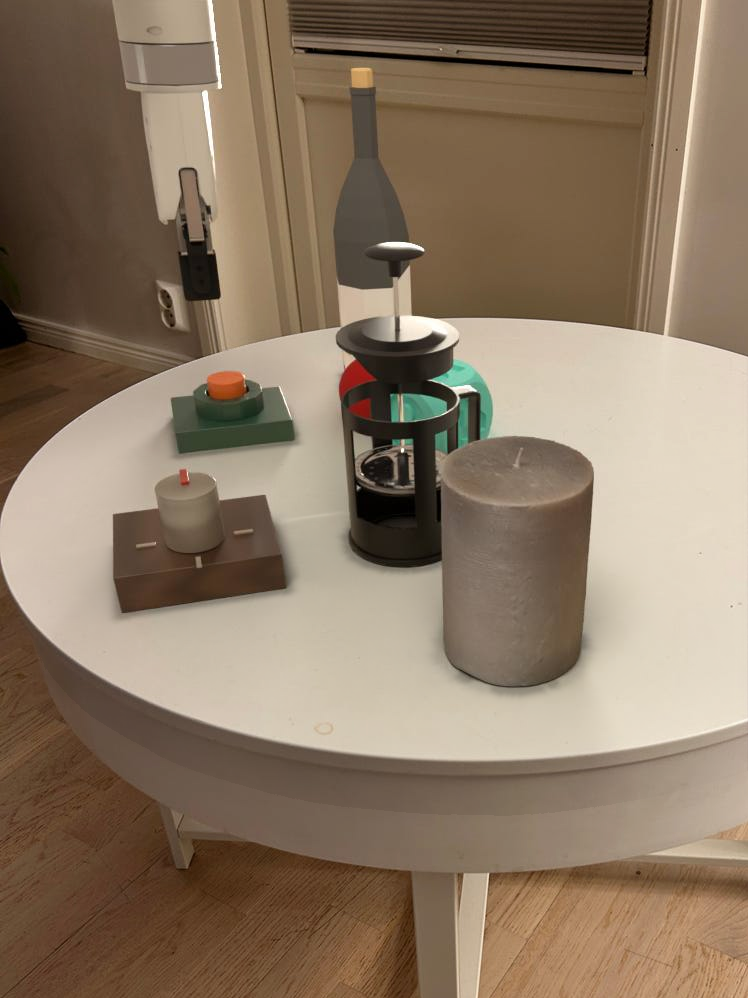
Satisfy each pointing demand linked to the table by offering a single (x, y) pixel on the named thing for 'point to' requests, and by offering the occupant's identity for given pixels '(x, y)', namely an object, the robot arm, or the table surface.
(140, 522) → the dial panel
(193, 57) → the robot arm
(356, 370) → the christmas ornament
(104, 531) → the table surface
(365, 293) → the wine bottle
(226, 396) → the button
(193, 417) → the button box
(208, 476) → the dial knob
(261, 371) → the table surface
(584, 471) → the pillar candle
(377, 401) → the french press
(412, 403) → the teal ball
